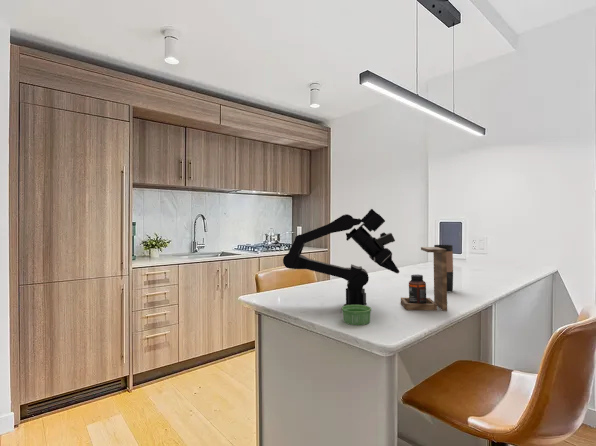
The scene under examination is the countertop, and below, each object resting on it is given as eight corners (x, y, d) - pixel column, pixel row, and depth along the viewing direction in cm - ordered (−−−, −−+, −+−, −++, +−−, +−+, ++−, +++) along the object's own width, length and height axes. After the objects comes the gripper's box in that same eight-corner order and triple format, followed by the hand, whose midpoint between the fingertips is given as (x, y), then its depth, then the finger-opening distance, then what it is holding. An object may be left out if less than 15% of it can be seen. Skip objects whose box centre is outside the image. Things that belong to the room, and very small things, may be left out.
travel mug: (453, 289, 156) (452, 244, 156) (453, 292, 149) (452, 245, 149) (435, 288, 159) (434, 244, 159) (434, 291, 152) (433, 245, 152)
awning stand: (405, 309, 121) (405, 249, 121) (400, 302, 132) (399, 247, 132) (447, 310, 119) (446, 249, 119) (438, 303, 130) (437, 247, 130)
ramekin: (377, 322, 107) (377, 308, 107) (356, 328, 101) (356, 313, 101) (356, 316, 114) (356, 303, 114) (336, 321, 109) (335, 307, 109)
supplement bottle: (429, 305, 126) (428, 274, 126) (423, 309, 121) (422, 276, 121) (412, 303, 130) (412, 273, 130) (406, 306, 125) (405, 275, 125)
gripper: (385, 224, 118) (418, 257, 117) (377, 225, 137) (406, 253, 136) (361, 247, 119) (394, 280, 118) (357, 245, 137) (385, 273, 136)
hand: (396, 271), depth 127 cm, fingers open, 9 cm apart
